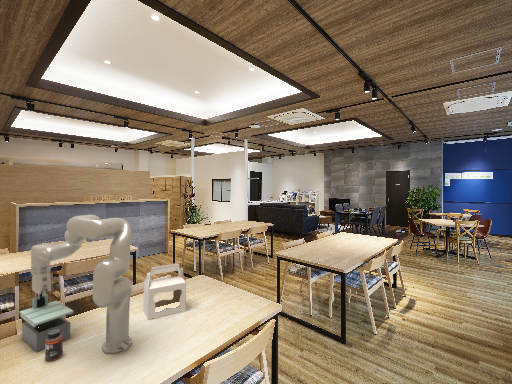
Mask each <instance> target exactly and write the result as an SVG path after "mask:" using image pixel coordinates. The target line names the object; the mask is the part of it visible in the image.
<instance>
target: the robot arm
mask: <svg viewBox="0 0 512 384" xmlns="http://www.w3.org/2000/svg"><path fill="white" fill-rule="evenodd" d="M65 229H66V231H65V232H64V238H65V242H62V243H57V244H53V245H50V244H48V243H42V244H41V243H40V244H35V245H33V246H32V247H31V248H30V249H31V250H30V251H31V252H30V275H32V279H31V290H32V291H33V292H34V293H35V296H34V298H36V297H38V299H37V308H38V307H42V306H45V296H46V295H47V292H48V293H50V292H51V290H52V289H51V285H52V284H51V283H52V282H51V275H50V272H51V262H54V261H58V260H61V259H65V258H68V257H70V256H72V255H73V254H75V253H76V252H77V251H78V250H79V249H81V247H82V245H83V241H85V240H86V239H90V240H91V239H92V240H102V239H105V238H110V237H113V239H112V240H111V243H110V246H109V255H108V258H106V259H103V260H101V261H99V262H98V263H97V264H96V266H94V269H93V274H92V300H93V303H94V305H95V306H96V307H97V308H101V309H103V308H104V309H105V308H106V320H105V322H106V323H105V324H106V326H105V341H104V342H103V344H102V345H101V351H102V352H103V353H105V354H117V353H120V352H123V351H126V350H128V348H130V347H131V346H132V345H133V338H132V337H131V336H130V309H131V308H130V307H131V306H130V305H131V296H132V290H133V284H132V283H133V282H132V281H131V280H130V278H128V277H127V276H124V275H125V274H126V273H128V272H129V269H130V266H131V265H130V264H131V244H132V243H131V241H132V235H133V234H132V233H133V232H132V227H131V225H130V224H129V222H128V221H127V220H126V219H124V218H121V217H109V218H104V219H101V218H100V217H99V216H98V215H95V214H84V215H83V214H81V215H75V216H73V217H71V218H70V219H69V220H68V221H67V222H66V228H65Z"/></svg>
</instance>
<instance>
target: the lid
mask: <svg viewBox="0 0 512 384" xmlns="http://www.w3.org/2000/svg"><path fill="white" fill-rule="evenodd" d="M37 299H38V297H36V298H35V297H33V298H32V299H31V301H32V305H31V306H32V307H30V308H27V309H22V310H20V311H19V314H20V318H21V319H23V320H24V322H28V323H29V324H30V325H31V326H33V327H36V325H39V324H42V323H45V322H48V321H50V320H53V319H56V318H59V317H64V316H67V315H73V313H74V310H73V309H71V308H70V307H68V306H66V304H63V303H61V302H59V300H58V301H57V300H54V301H51V302H49V294H46V296H45V306H42V307H38V308H37Z"/></svg>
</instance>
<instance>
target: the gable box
mask: <svg viewBox="0 0 512 384" xmlns="http://www.w3.org/2000/svg"><path fill="white" fill-rule="evenodd" d="M171 272H177V276H172V277H166V278H161V279H154V280H152V276H153V275H154V276H155V275H157V274H158V275H159V274H165V273H171ZM145 276H146V277H145V279H144V282H143V301H142V302H143V304H142V307H143V309H142V310H143V313H144V315H145V316H146V318H147V320H148V321H150V320H153V319H152V318H154V319H157V318H156V317H158V318H161V317H160V316H162V317H166V316H169V315H168V314H170V315H173V314H172V313H174V314H177V313H176V312H178V313H180V312H179V311H182V310H187V281H186V278H185V276H184V267H180V264H179V263H178V262H175V263H167V264H162V265H153V266H152V267H151V268H150V271H149V272H146V275H145ZM170 292H172V296H173V297H172V299H161V300H158V301H157V302H156V301H155V299H154V297H155V296H156V295H157V294H160V293H170ZM175 302H180V305H179V306H178V307H176V308H166V309H164V310H162V311H160V312H155V308H156V307H160V306H164V305H168V304H171V303H175ZM182 312H183V311H182ZM165 315H166V316H165ZM149 319H150V320H149Z"/></svg>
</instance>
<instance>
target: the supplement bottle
mask: <svg viewBox="0 0 512 384" xmlns="http://www.w3.org/2000/svg"><path fill="white" fill-rule="evenodd" d="M63 343H64V341H63V336H62V334H60V330H59V329H55V330H52V331H50V332H49V333H48V337H47V338H46V340H45V349H44V354H45V356H44V359H45V361H47V362H52V361H56V360H58V359H59V358H61V357H62V356H63V353H64V352H63V351H64V350H63V349H64V348H63V346H64V345H63Z"/></svg>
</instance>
